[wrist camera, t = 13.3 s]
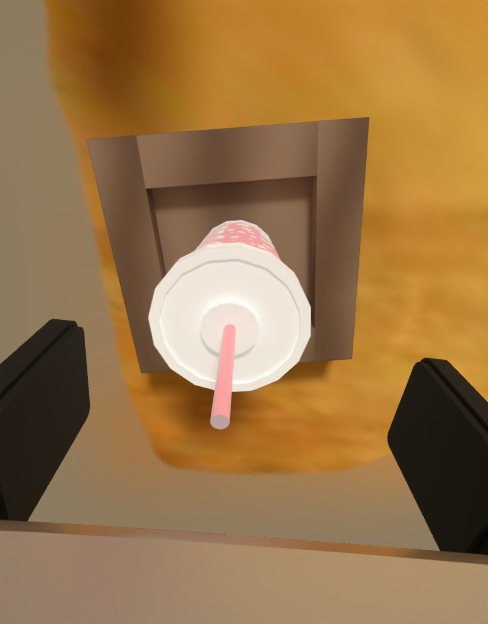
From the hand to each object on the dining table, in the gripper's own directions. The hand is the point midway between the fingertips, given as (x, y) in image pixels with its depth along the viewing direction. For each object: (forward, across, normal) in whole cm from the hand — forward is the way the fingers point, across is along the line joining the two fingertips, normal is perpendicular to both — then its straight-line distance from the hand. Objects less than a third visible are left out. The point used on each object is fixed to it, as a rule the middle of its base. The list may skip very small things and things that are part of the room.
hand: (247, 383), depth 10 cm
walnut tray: (+16, 0, 0) cm, 16 cm away
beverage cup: (+13, 0, 0) cm, 13 cm away
